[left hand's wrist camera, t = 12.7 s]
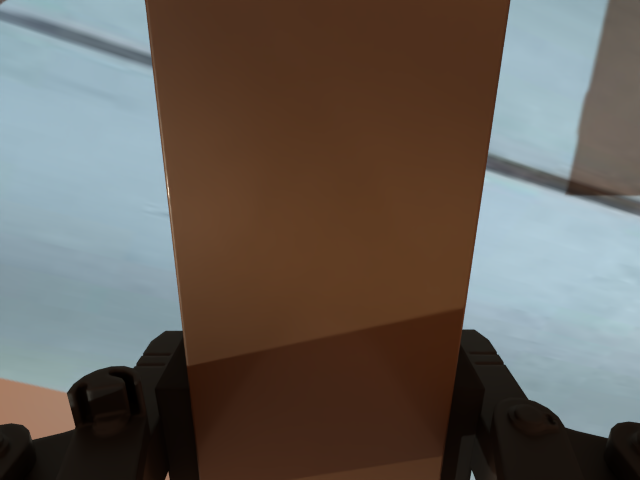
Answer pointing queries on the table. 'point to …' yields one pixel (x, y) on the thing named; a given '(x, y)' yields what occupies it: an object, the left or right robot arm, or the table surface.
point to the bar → (324, 223)
